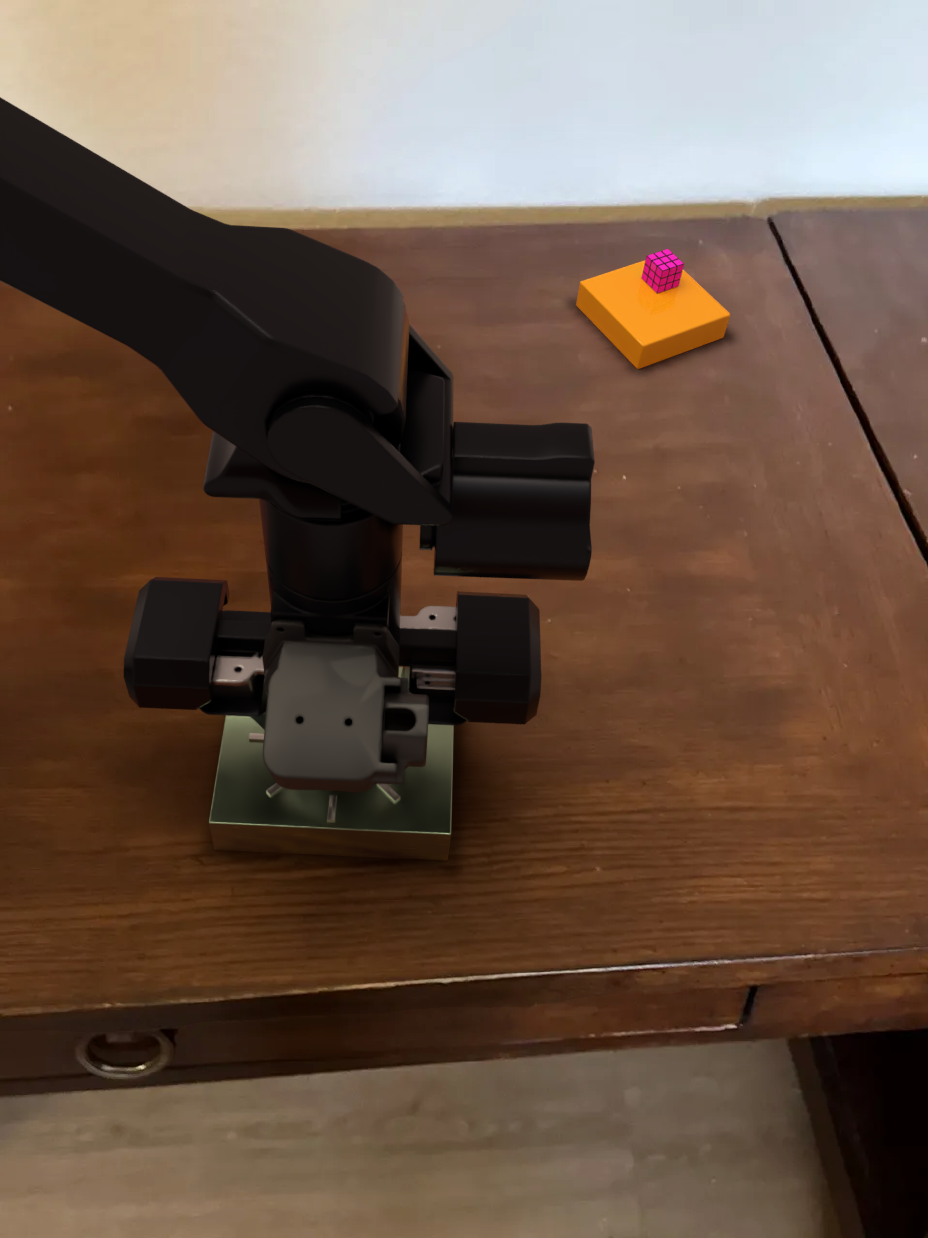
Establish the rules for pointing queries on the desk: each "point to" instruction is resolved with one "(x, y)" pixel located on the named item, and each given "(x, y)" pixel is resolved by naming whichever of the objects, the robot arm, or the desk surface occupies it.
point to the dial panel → (330, 805)
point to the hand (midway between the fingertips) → (341, 742)
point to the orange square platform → (652, 309)
